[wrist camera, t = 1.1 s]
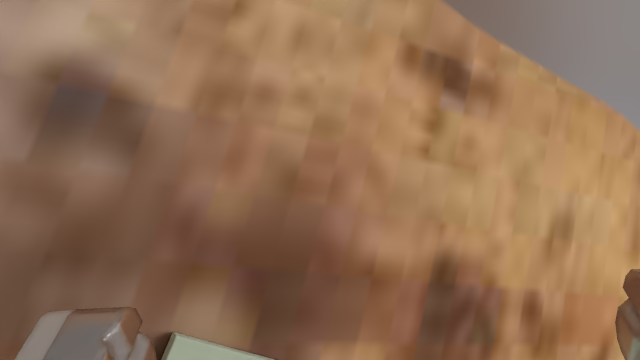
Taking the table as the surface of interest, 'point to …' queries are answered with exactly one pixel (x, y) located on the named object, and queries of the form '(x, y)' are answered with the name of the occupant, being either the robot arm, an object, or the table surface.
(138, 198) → the table surface
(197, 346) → the mat
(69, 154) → the table surface
